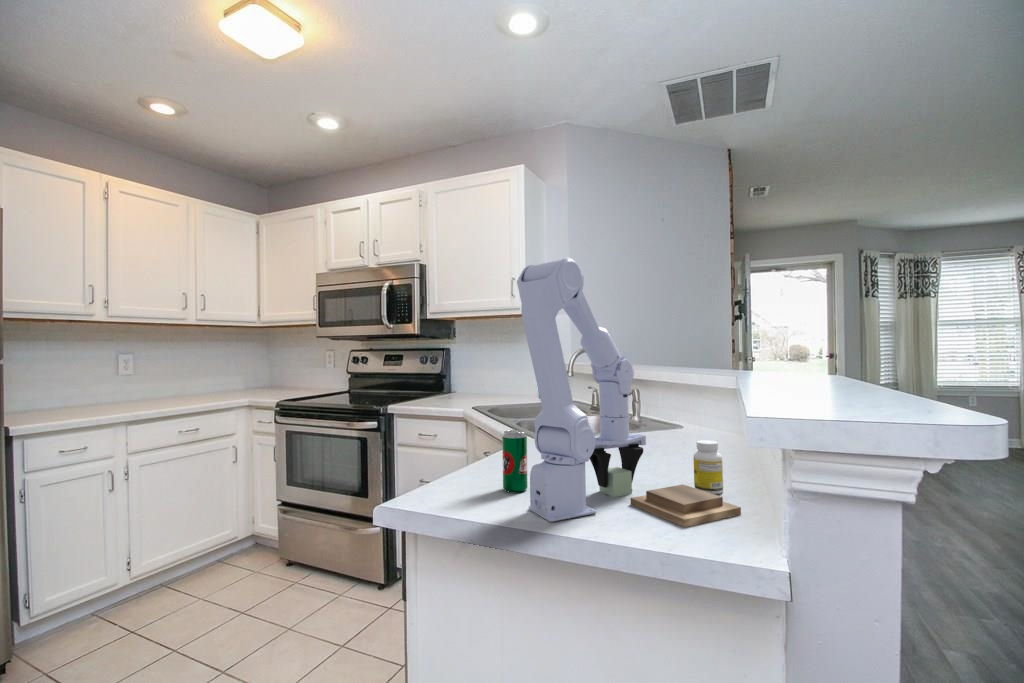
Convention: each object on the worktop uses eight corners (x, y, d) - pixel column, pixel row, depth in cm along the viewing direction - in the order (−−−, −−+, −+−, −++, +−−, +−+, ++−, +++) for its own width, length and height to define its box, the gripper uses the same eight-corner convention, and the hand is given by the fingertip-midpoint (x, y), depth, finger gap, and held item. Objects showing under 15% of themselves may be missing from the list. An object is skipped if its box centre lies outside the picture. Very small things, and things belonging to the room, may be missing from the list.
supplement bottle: (698, 485, 98) (696, 438, 98) (726, 489, 95) (724, 441, 95) (691, 492, 94) (689, 442, 94) (720, 496, 91) (718, 445, 91)
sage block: (613, 497, 91) (613, 474, 91) (599, 491, 95) (599, 469, 95) (631, 494, 93) (631, 471, 93) (617, 488, 97) (617, 466, 97)
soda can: (525, 494, 94) (524, 433, 94) (500, 493, 95) (499, 433, 95) (529, 487, 99) (528, 429, 99) (505, 486, 100) (505, 429, 100)
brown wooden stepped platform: (684, 527, 75) (684, 510, 75) (630, 504, 86) (630, 489, 86) (740, 514, 80) (740, 498, 80) (682, 494, 92) (682, 480, 92)
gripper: (629, 411, 101) (630, 475, 101) (572, 416, 95) (573, 484, 95) (652, 415, 95) (653, 483, 95) (593, 420, 89) (594, 492, 88)
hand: (615, 484), depth 94 cm, fingers open, 6 cm apart
